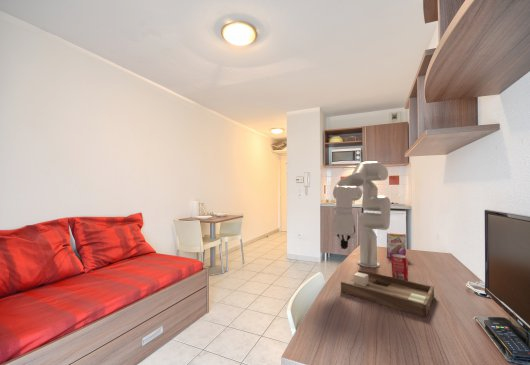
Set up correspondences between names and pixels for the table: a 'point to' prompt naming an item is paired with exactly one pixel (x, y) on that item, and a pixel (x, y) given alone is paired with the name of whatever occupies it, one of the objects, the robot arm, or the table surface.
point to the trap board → (393, 293)
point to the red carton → (399, 266)
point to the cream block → (361, 279)
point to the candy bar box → (396, 244)
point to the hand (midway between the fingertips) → (344, 248)
